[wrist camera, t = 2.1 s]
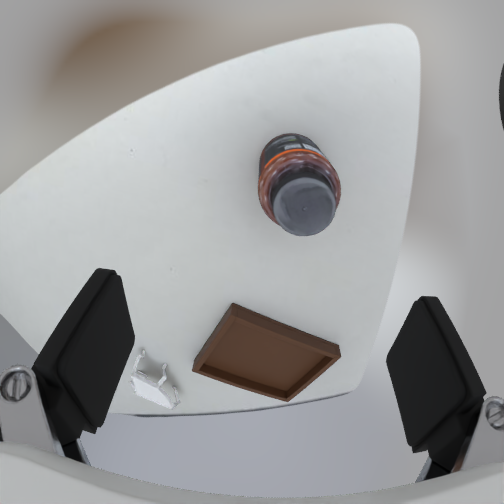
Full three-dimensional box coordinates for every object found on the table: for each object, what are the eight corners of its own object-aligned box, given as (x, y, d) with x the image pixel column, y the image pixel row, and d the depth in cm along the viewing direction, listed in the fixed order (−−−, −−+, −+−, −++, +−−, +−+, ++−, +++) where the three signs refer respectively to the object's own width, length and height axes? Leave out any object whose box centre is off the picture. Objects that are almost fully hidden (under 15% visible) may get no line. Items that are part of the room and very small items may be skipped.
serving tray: (339, 345, 41) (341, 356, 39) (287, 391, 48) (287, 402, 46) (232, 302, 38) (230, 314, 36) (194, 359, 44) (191, 371, 42)
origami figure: (118, 361, 46) (109, 384, 42) (143, 343, 43) (134, 368, 39) (173, 396, 51) (167, 418, 46) (202, 382, 47) (197, 407, 43)
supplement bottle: (285, 202, 31) (293, 266, 21) (246, 157, 28) (235, 202, 19) (334, 167, 28) (367, 217, 19) (296, 119, 26) (314, 142, 16)
